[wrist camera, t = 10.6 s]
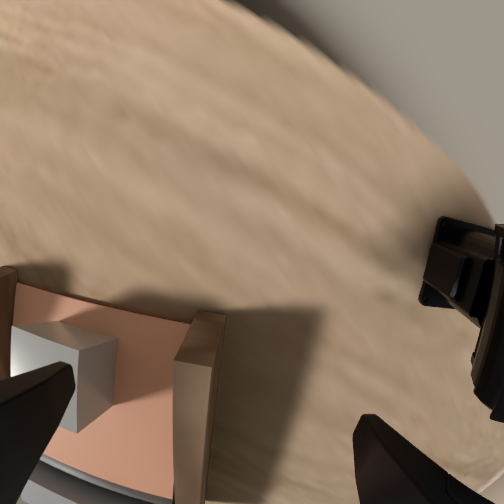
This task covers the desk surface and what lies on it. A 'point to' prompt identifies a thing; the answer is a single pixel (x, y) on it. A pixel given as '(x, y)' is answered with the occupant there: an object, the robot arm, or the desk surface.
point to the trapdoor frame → (184, 390)
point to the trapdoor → (111, 410)
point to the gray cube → (78, 356)
